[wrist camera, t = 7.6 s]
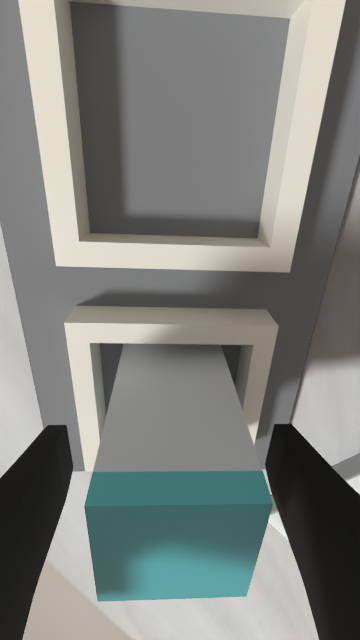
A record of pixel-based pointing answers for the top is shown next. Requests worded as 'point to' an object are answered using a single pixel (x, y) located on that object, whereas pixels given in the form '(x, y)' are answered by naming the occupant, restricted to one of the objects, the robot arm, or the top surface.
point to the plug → (175, 480)
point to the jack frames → (176, 251)
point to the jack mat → (172, 182)
